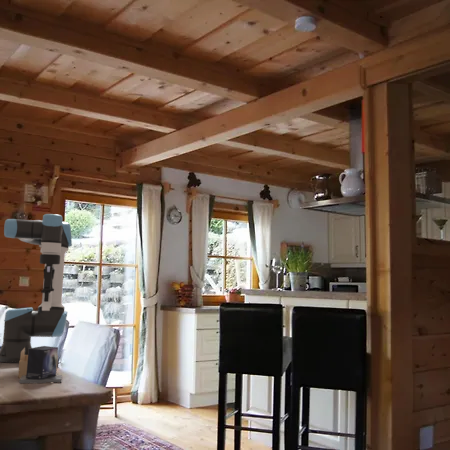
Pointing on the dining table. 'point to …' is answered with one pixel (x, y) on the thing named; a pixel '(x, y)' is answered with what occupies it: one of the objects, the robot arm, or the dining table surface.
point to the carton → (24, 364)
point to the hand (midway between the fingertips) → (46, 309)
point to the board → (51, 379)
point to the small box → (41, 362)
